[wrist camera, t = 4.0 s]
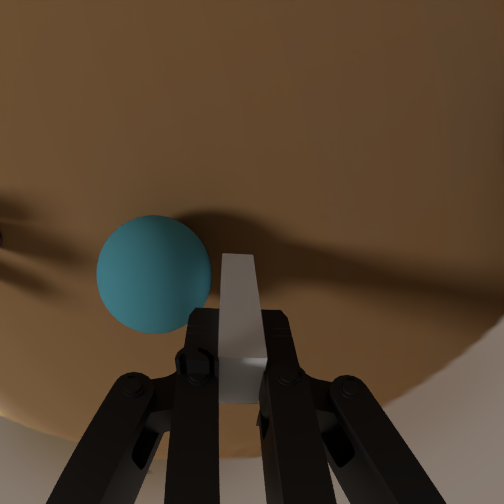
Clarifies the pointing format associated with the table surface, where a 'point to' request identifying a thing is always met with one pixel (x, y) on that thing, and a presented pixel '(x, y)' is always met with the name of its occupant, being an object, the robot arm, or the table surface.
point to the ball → (153, 274)
